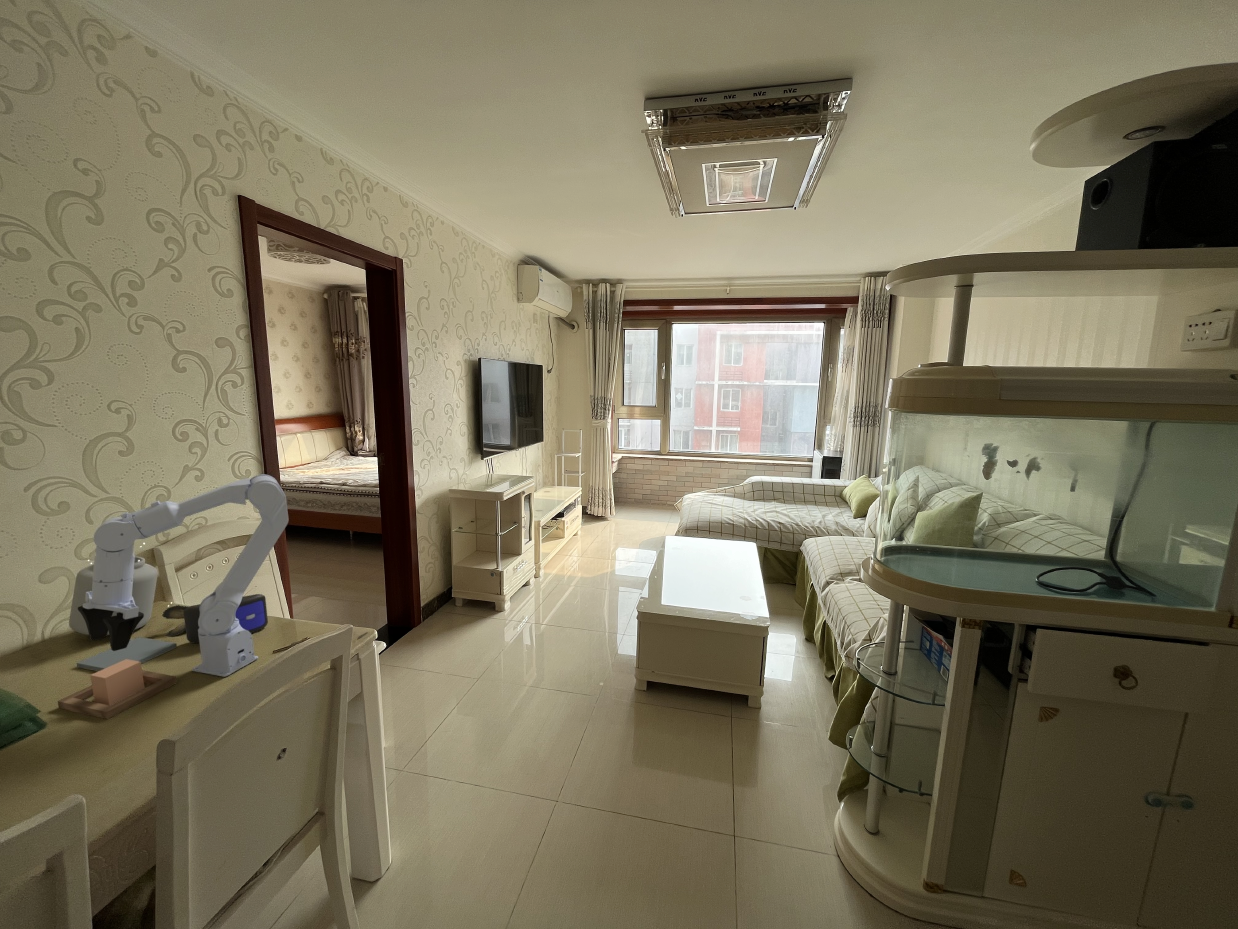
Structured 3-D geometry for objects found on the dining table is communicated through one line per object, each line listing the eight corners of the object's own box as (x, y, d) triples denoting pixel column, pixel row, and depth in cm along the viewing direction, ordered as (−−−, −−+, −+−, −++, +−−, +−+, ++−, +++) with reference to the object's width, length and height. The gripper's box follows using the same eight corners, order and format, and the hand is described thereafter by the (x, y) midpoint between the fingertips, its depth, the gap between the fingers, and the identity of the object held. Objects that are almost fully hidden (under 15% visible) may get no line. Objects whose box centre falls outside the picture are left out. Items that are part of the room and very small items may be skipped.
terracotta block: (144, 688, 104) (140, 661, 103) (109, 706, 98) (105, 678, 97) (130, 685, 105) (126, 659, 104) (94, 702, 99) (90, 675, 98)
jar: (172, 607, 141) (161, 522, 137) (175, 626, 130) (162, 534, 126) (74, 629, 128) (58, 535, 124) (68, 651, 117) (50, 550, 113)
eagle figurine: (201, 613, 135) (158, 619, 128) (210, 594, 133) (166, 600, 126) (209, 634, 132) (165, 643, 124) (218, 616, 130) (174, 623, 122)
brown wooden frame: (176, 683, 106) (175, 676, 106) (107, 719, 94) (106, 712, 94) (130, 674, 109) (130, 667, 109) (58, 708, 97) (57, 701, 97)
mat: (176, 647, 120) (176, 643, 120) (117, 674, 108) (116, 670, 108) (139, 640, 123) (138, 636, 122) (77, 667, 111) (76, 662, 111)
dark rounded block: (185, 650, 119) (180, 613, 117) (188, 641, 123) (183, 605, 121) (268, 632, 128) (264, 597, 126) (268, 625, 131) (265, 591, 130)
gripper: (66, 574, 99) (62, 640, 99) (107, 591, 93) (102, 661, 94) (113, 567, 105) (108, 629, 106) (153, 583, 100) (148, 648, 101)
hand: (108, 643), depth 101 cm, fingers open, 7 cm apart
